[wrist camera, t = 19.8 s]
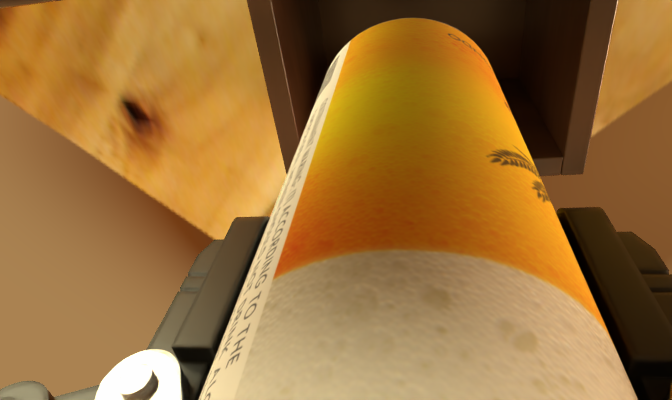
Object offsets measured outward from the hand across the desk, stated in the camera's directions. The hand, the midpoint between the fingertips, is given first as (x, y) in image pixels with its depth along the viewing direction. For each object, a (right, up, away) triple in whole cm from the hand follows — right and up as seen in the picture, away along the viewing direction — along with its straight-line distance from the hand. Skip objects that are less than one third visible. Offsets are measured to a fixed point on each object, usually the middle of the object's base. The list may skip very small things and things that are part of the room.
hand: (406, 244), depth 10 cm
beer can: (+1, +5, +7) cm, 8 cm away
